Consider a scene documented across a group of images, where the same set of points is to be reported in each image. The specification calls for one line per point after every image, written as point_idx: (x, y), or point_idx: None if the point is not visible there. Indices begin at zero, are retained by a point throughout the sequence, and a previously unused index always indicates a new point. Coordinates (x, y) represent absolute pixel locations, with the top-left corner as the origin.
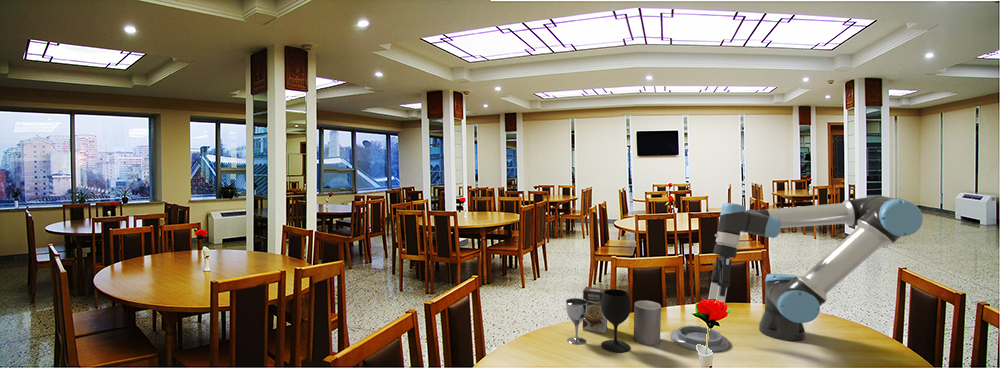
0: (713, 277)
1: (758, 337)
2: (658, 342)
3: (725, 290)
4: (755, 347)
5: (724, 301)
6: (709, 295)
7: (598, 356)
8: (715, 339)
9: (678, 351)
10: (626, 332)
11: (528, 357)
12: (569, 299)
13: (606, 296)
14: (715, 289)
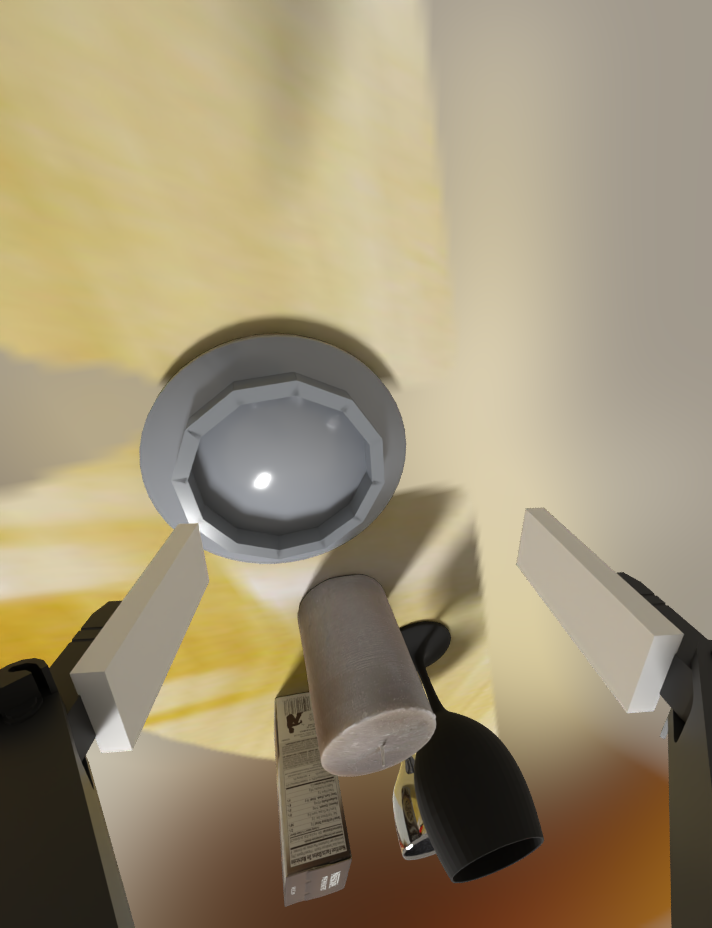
0: (112, 850)
1: (32, 64)
2: (366, 579)
3: (688, 624)
4: (273, 171)
5: (569, 533)
6: (195, 607)
7: (473, 655)
8: (348, 416)
9: (414, 520)
10: (295, 656)
11: (487, 722)
12: (412, 856)
13: (518, 849)
14: (155, 629)
